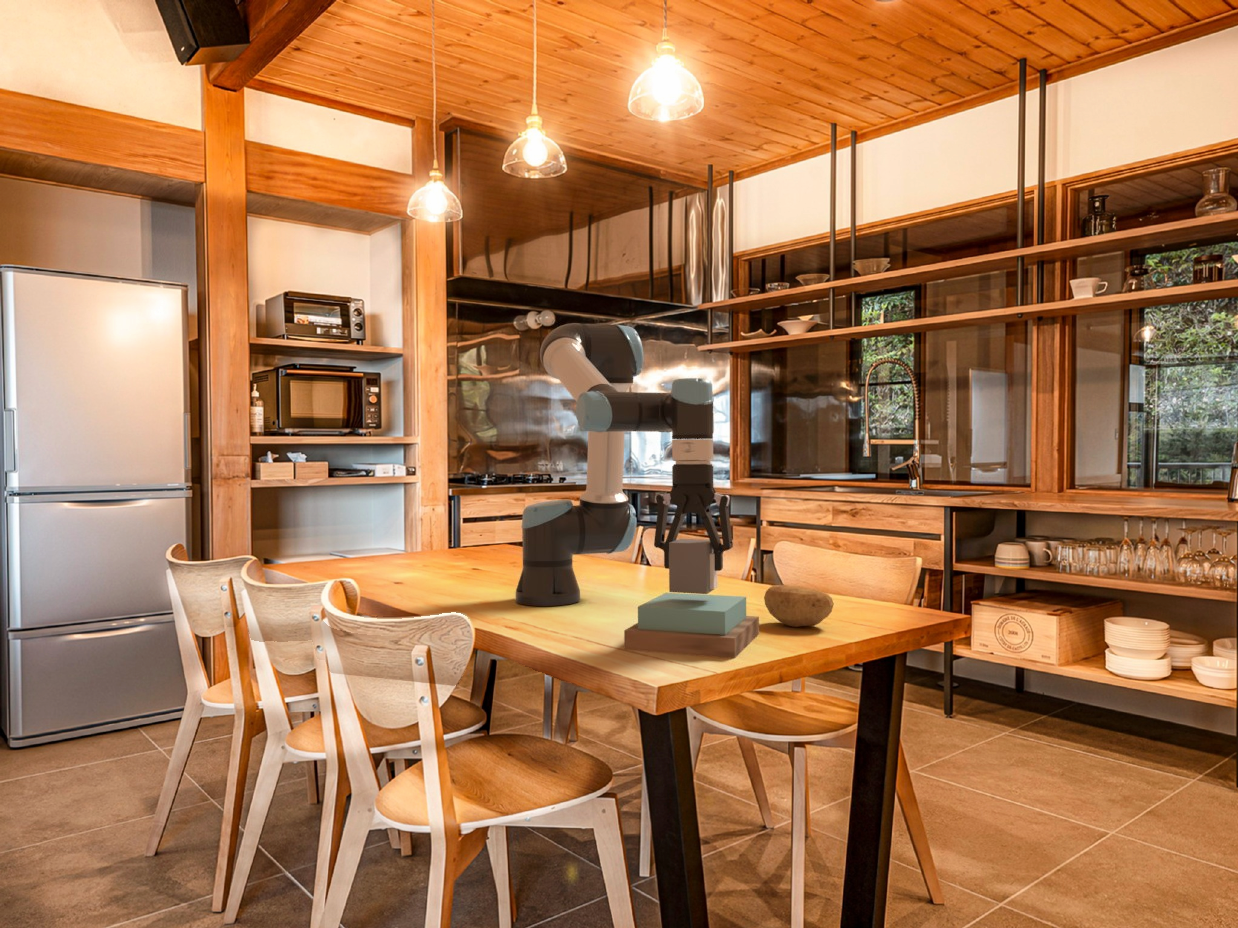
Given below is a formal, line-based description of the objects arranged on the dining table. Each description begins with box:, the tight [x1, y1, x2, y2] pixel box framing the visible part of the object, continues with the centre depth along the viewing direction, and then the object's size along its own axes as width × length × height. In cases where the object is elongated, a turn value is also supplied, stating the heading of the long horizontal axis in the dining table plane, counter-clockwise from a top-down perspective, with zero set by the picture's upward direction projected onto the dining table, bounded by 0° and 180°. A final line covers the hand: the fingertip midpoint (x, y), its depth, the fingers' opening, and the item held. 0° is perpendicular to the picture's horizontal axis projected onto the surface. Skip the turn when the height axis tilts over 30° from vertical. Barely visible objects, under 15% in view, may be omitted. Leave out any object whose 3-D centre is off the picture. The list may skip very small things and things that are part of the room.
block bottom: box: [623, 615, 760, 659], centre depth 161 cm, size 20×20×4 cm
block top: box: [637, 592, 747, 635], centre depth 161 cm, size 16×16×4 cm
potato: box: [763, 584, 834, 628], centre depth 174 cm, size 10×14×8 cm
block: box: [668, 538, 714, 595], centre depth 161 cm, size 7×7×9 cm
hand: (693, 587), depth 161 cm, fingers closed on block, 7 cm apart
